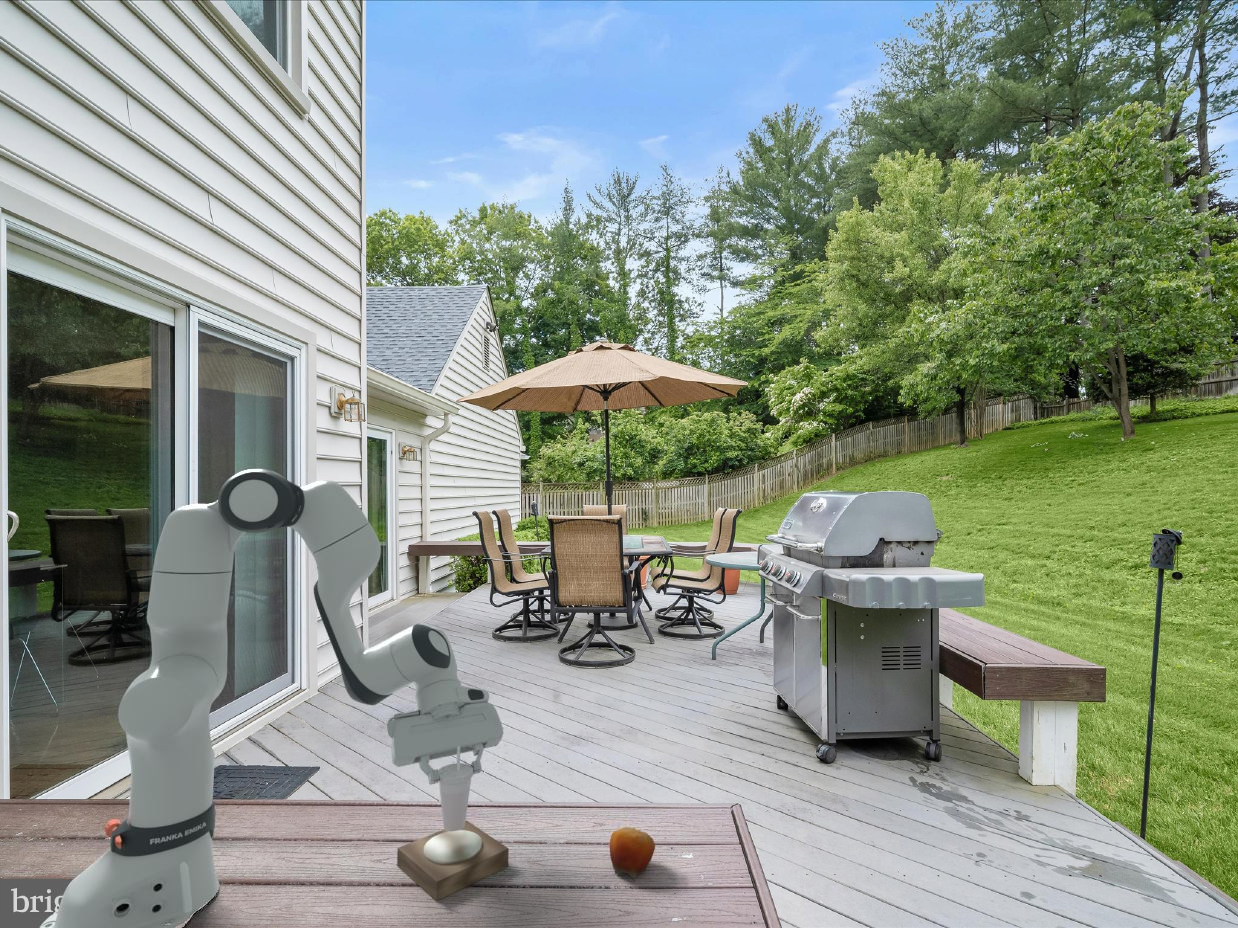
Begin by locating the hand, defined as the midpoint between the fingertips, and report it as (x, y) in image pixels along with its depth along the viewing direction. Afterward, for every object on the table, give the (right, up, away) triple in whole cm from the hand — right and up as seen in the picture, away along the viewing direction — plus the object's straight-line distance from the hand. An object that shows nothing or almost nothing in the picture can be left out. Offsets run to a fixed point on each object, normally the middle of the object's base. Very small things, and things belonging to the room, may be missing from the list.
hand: (456, 777), depth 110 cm
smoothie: (0, -9, 0) cm, 9 cm away
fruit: (+31, -16, -1) cm, 35 cm away
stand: (0, -15, -1) cm, 15 cm away
